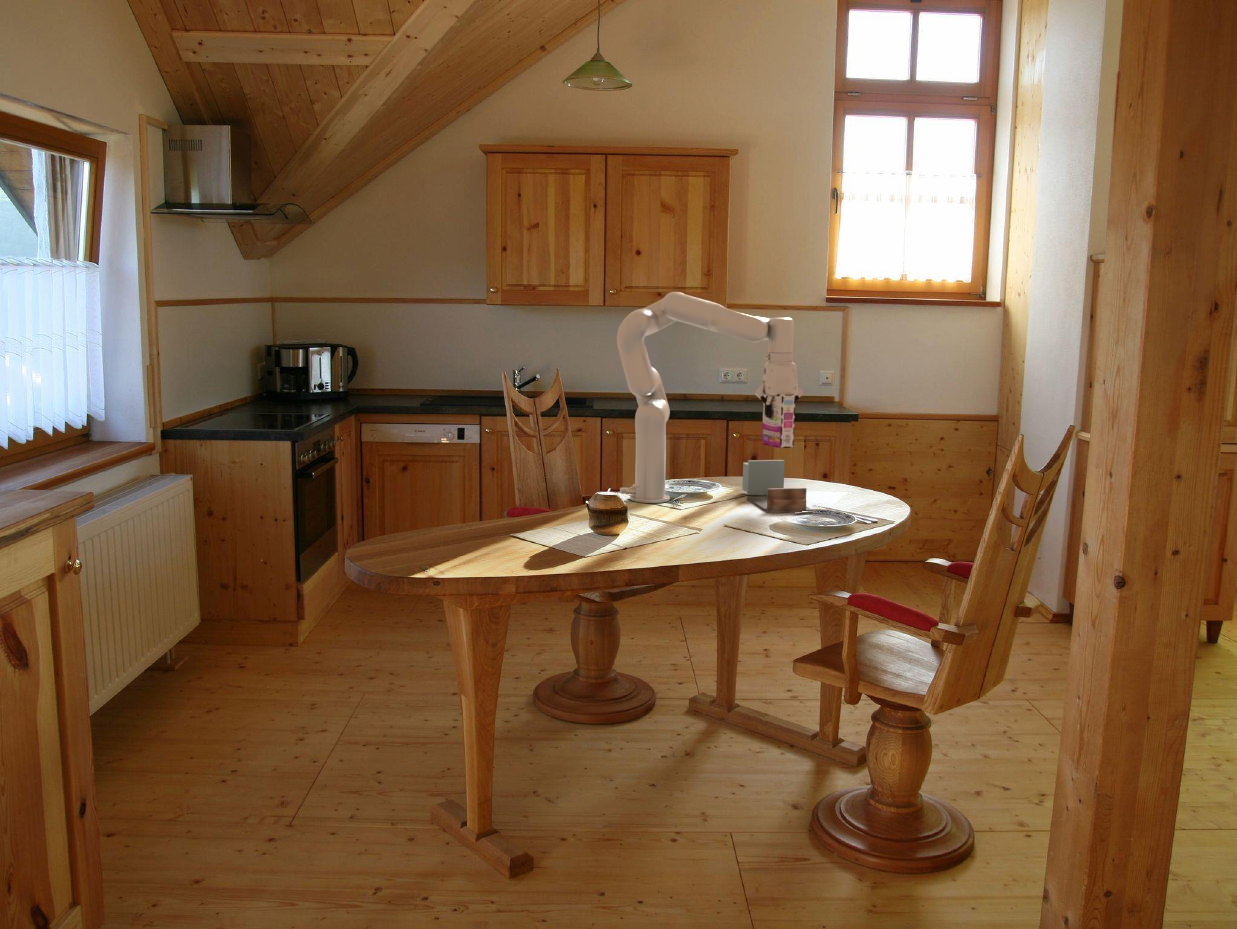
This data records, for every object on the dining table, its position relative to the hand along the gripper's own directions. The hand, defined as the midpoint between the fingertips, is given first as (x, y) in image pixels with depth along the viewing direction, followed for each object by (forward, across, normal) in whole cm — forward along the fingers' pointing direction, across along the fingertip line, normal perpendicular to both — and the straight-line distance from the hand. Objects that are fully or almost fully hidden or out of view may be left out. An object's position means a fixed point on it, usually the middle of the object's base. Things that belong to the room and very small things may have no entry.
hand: (778, 416), depth 329 cm
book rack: (+28, +1, +1) cm, 28 cm away
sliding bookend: (+27, +1, +17) cm, 32 cm away
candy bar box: (+9, 0, 0) cm, 9 cm away
